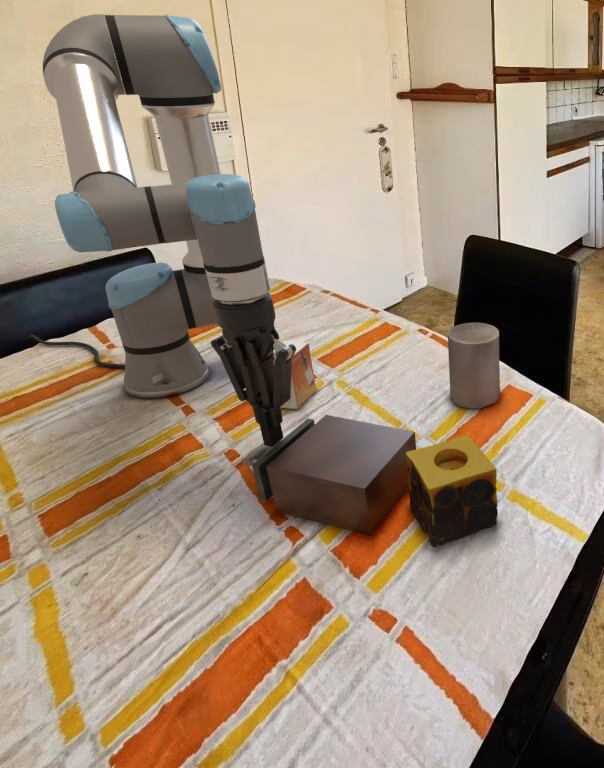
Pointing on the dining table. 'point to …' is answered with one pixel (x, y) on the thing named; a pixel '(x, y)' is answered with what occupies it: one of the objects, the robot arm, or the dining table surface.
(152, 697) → the dining table surface
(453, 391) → the grey upright cylinder
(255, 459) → the drawer
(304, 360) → the small box
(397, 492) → the cabinet
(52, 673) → the dining table surface
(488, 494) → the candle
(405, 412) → the dining table surface
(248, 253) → the robot arm
